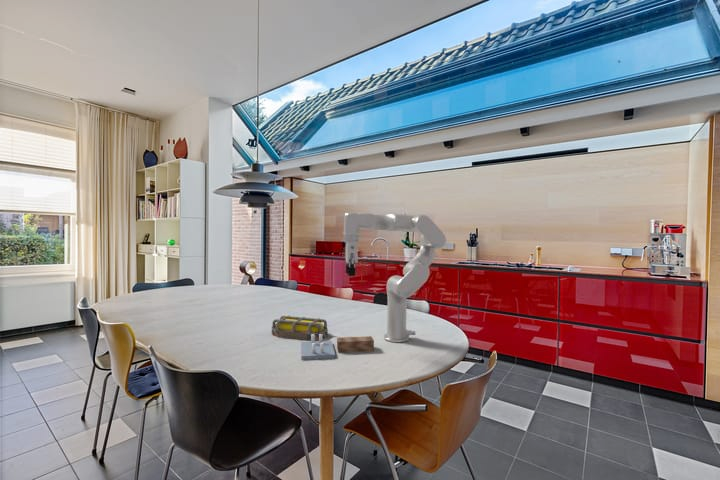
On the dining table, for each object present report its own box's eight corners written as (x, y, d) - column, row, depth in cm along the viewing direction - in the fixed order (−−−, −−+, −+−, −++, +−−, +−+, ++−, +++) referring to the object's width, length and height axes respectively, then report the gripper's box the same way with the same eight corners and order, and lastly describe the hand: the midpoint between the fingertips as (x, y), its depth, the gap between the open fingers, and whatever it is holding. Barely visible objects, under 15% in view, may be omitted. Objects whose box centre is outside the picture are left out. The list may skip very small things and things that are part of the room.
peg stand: (331, 343, 156) (331, 332, 155) (335, 358, 138) (335, 345, 138) (301, 345, 153) (301, 333, 153) (301, 359, 135) (301, 346, 135)
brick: (371, 347, 153) (371, 336, 153) (373, 351, 147) (373, 340, 147) (336, 348, 150) (337, 337, 150) (338, 353, 144) (338, 342, 144)
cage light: (280, 313, 180) (331, 318, 173) (280, 328, 181) (331, 333, 173) (266, 320, 166) (321, 325, 158) (266, 336, 167) (321, 342, 159)
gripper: (361, 239, 149) (360, 277, 149) (356, 238, 166) (355, 272, 166) (345, 239, 147) (344, 276, 148) (341, 238, 165) (340, 272, 165)
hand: (350, 274), depth 157 cm, fingers open, 9 cm apart
